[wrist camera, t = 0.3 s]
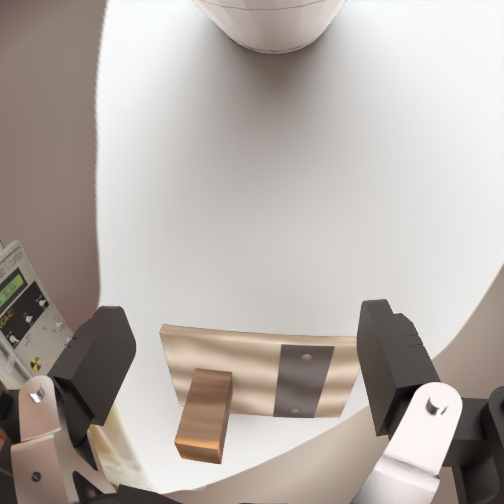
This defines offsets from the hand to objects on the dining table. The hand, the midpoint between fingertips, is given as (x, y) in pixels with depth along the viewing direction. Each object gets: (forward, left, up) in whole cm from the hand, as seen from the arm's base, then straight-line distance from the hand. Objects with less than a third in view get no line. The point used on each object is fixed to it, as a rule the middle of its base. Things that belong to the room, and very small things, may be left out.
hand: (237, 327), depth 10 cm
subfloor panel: (+26, 0, -18) cm, 32 cm away
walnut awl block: (+26, -6, -17) cm, 32 cm away
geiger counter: (+15, -32, -19) cm, 40 cm away
